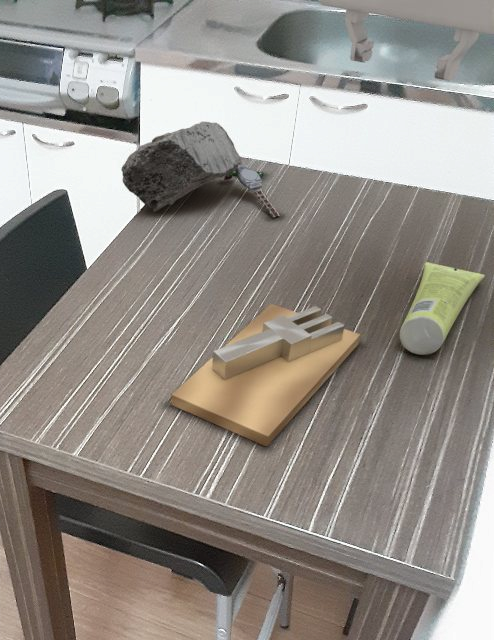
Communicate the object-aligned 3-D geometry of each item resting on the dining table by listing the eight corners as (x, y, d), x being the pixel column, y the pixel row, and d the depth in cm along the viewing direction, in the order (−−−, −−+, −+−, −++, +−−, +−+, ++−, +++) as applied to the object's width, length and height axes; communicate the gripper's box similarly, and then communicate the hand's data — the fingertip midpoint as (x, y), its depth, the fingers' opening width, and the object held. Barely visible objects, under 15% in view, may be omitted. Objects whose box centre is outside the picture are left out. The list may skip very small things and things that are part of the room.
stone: (110, 122, 107) (203, 155, 102) (170, 99, 118) (256, 128, 114) (101, 205, 115) (187, 239, 110) (157, 176, 126) (237, 205, 122)
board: (358, 344, 90) (360, 334, 89) (266, 447, 78) (268, 436, 77) (269, 313, 95) (271, 303, 94) (171, 405, 83) (171, 394, 82)
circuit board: (263, 170, 123) (259, 175, 122) (263, 174, 124) (259, 179, 123) (227, 164, 125) (223, 169, 124) (227, 168, 126) (222, 173, 125)
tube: (418, 367, 89) (450, 295, 101) (457, 346, 85) (485, 274, 98) (389, 330, 88) (425, 262, 100) (427, 308, 84) (460, 240, 96)
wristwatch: (234, 175, 123) (241, 149, 119) (278, 236, 117) (287, 210, 113) (214, 180, 122) (221, 153, 118) (258, 241, 116) (267, 215, 112)
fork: (231, 386, 83) (232, 368, 81) (205, 363, 86) (206, 345, 84) (341, 339, 88) (345, 321, 87) (313, 320, 91) (316, 301, 90)
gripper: (312, -108, 69) (296, 58, 79) (532, -90, 59) (481, 99, 69) (351, -119, 72) (331, 42, 82) (567, -104, 62) (514, 79, 72)
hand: (401, 69), depth 75 cm, fingers open, 8 cm apart
